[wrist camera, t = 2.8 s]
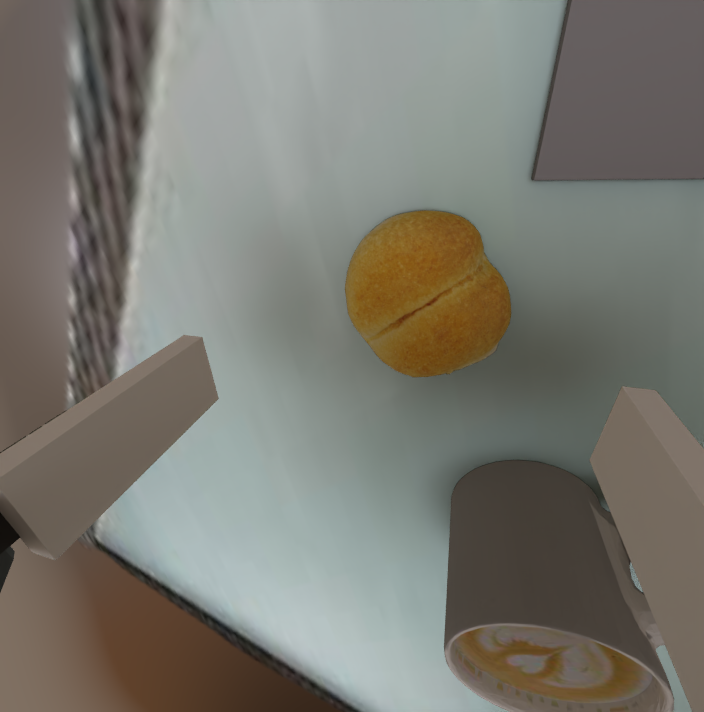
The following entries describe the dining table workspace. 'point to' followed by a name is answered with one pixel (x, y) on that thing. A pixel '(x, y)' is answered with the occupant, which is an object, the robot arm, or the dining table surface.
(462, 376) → the dining table surface
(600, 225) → the dining table surface
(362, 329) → the bread roll
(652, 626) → the coffee mug
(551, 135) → the mat
